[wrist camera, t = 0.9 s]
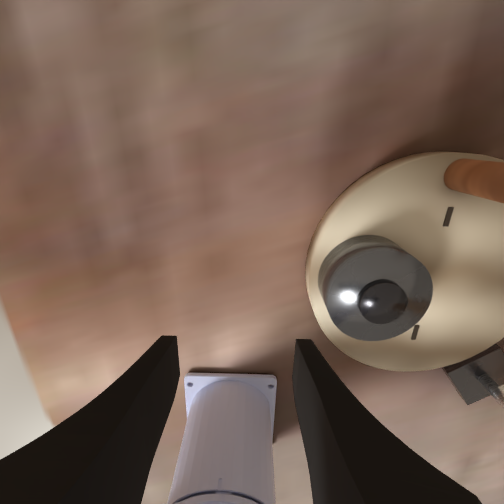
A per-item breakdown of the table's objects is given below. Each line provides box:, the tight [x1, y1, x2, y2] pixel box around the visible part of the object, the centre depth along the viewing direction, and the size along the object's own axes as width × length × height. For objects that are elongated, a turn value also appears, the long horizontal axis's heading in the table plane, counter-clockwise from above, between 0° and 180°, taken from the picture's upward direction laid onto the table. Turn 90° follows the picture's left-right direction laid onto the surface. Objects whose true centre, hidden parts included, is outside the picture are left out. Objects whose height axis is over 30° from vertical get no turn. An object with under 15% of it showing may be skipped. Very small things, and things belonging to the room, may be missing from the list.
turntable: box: [305, 151, 504, 372], centre depth 18 cm, size 16×16×6 cm
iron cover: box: [318, 235, 433, 341], centre depth 18 cm, size 6×6×3 cm
